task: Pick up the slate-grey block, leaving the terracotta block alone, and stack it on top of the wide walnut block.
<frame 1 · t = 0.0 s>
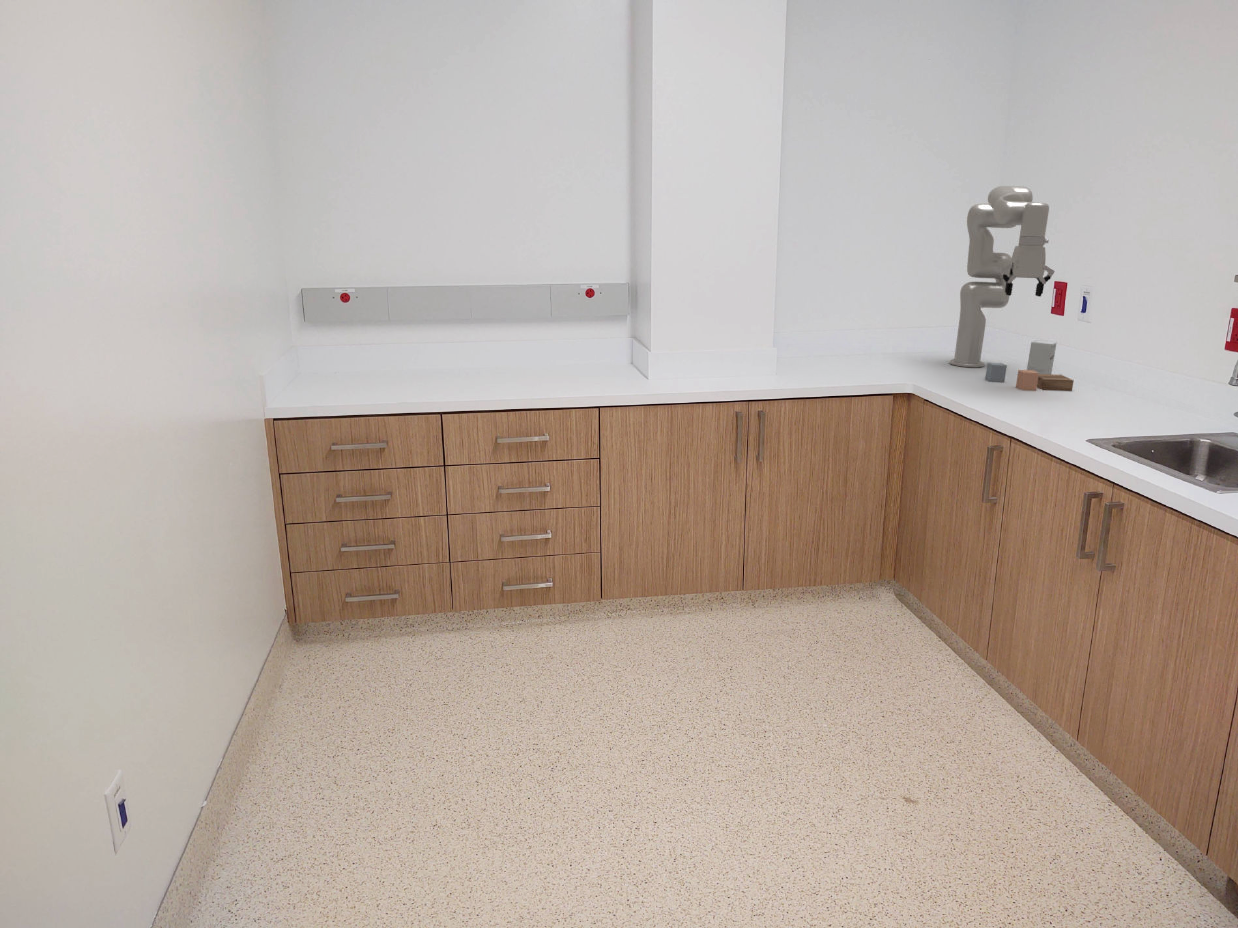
hand: (1023, 295, 302), 31 cm above the worktop, tool pointing down, fingers open, 9 cm apart
walnut base: (1050, 388, 315), on the worktop
supplement box: (1038, 376, 335), on the worktop
grey block: (994, 380, 324), on the worktop
terracotta block: (1025, 388, 312), on the worktop
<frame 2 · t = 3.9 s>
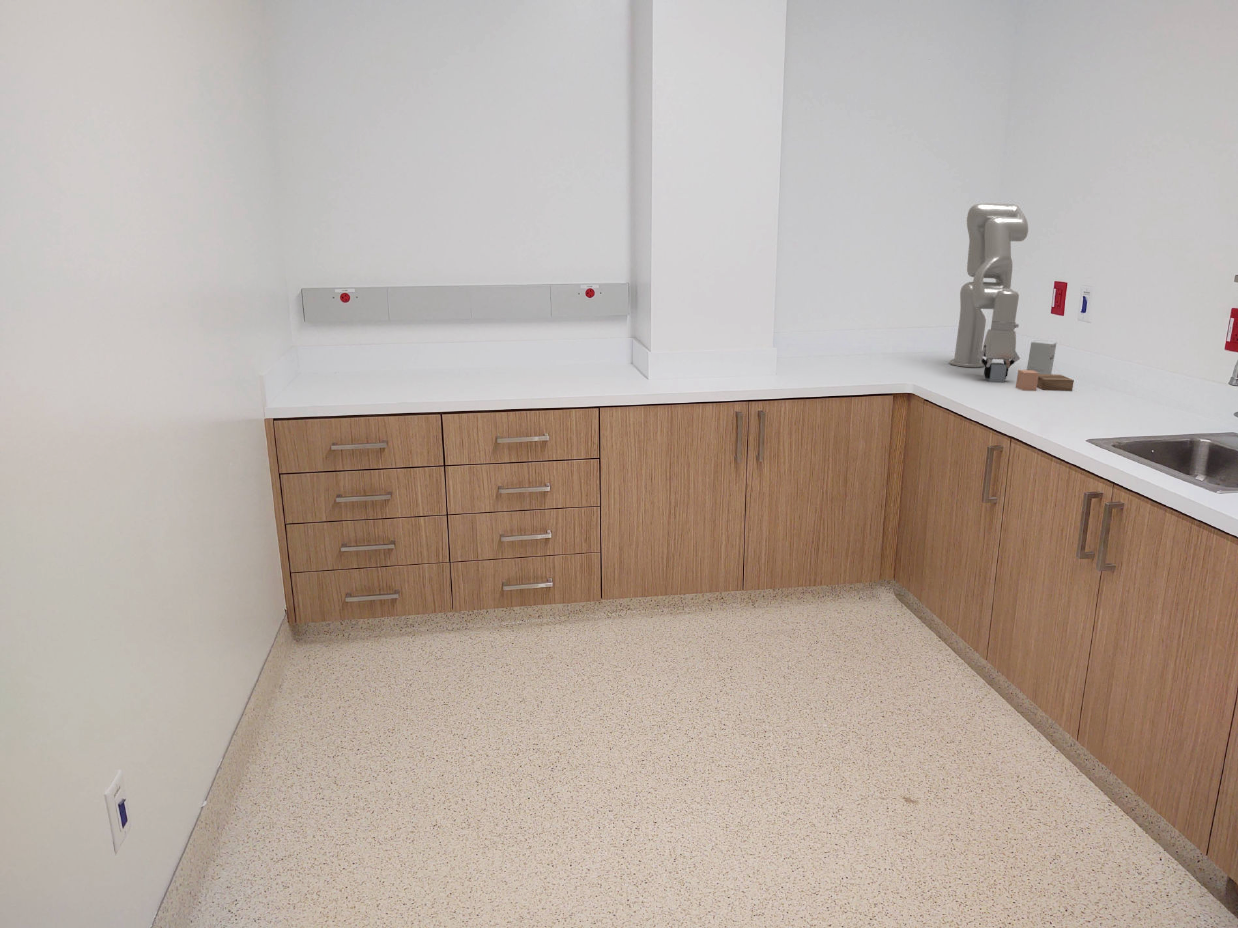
hand: (995, 377, 324), 1 cm above the worktop, tool pointing down, fingers closed on grey block, 4 cm apart
grey block: (994, 380, 324), on the worktop, touching gripper
everything else where it was.
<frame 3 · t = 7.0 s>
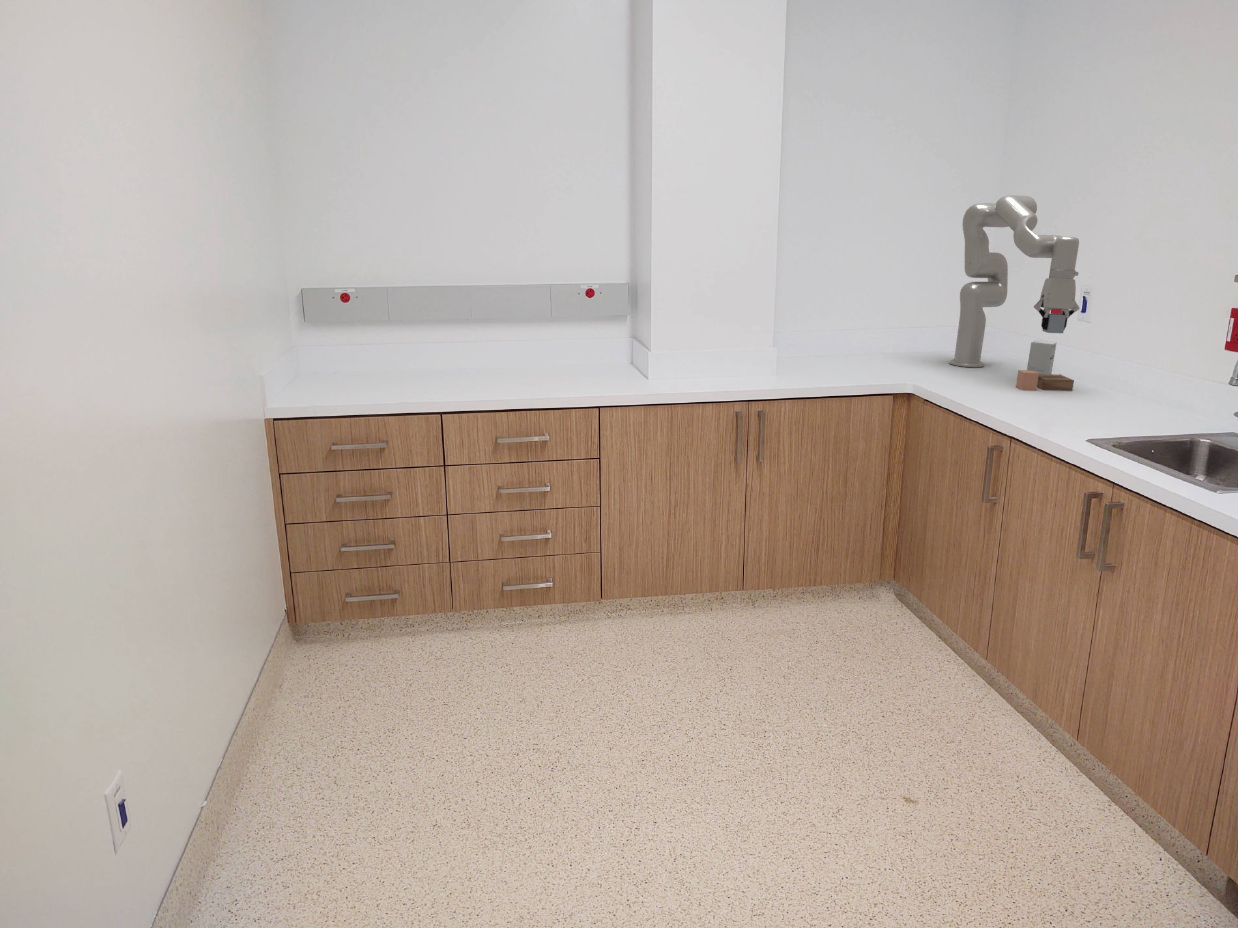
hand: (1053, 329, 311), 20 cm above the worktop, tool pointing down, fingers closed on grey block, 4 cm apart
grey block: (1052, 332, 311), point 19 cm above the worktop, touching gripper
everything else where it was.
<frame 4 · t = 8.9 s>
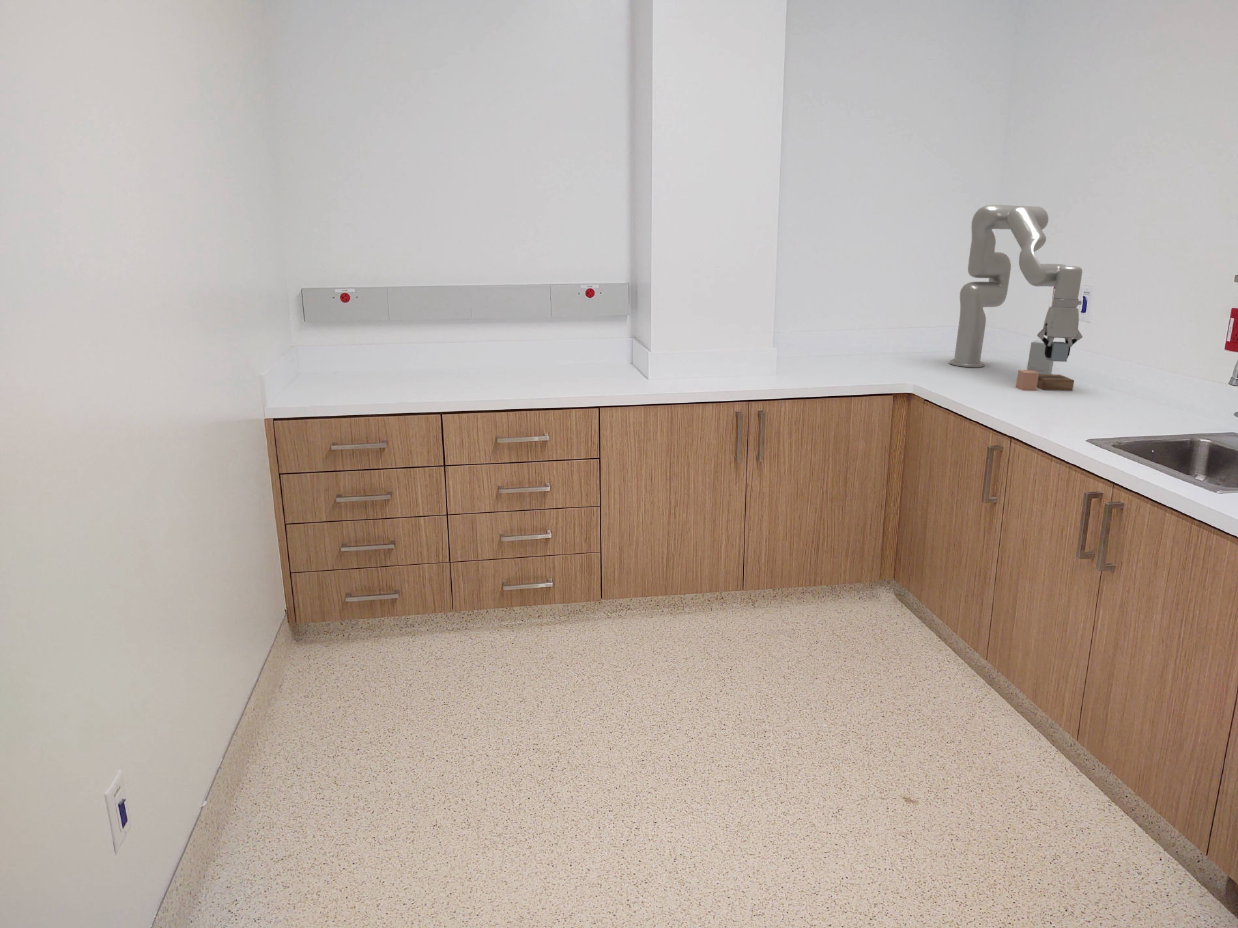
hand: (1056, 357, 312), 11 cm above the worktop, tool pointing down, fingers closed on grey block, 4 cm apart
grey block: (1056, 360, 312), point 9 cm above the worktop, touching gripper
everything else where it was.
when the fingers open (6 cm above the worktop, at t = 10.5 s): grey block drops 2 cm, resting on walnut base.
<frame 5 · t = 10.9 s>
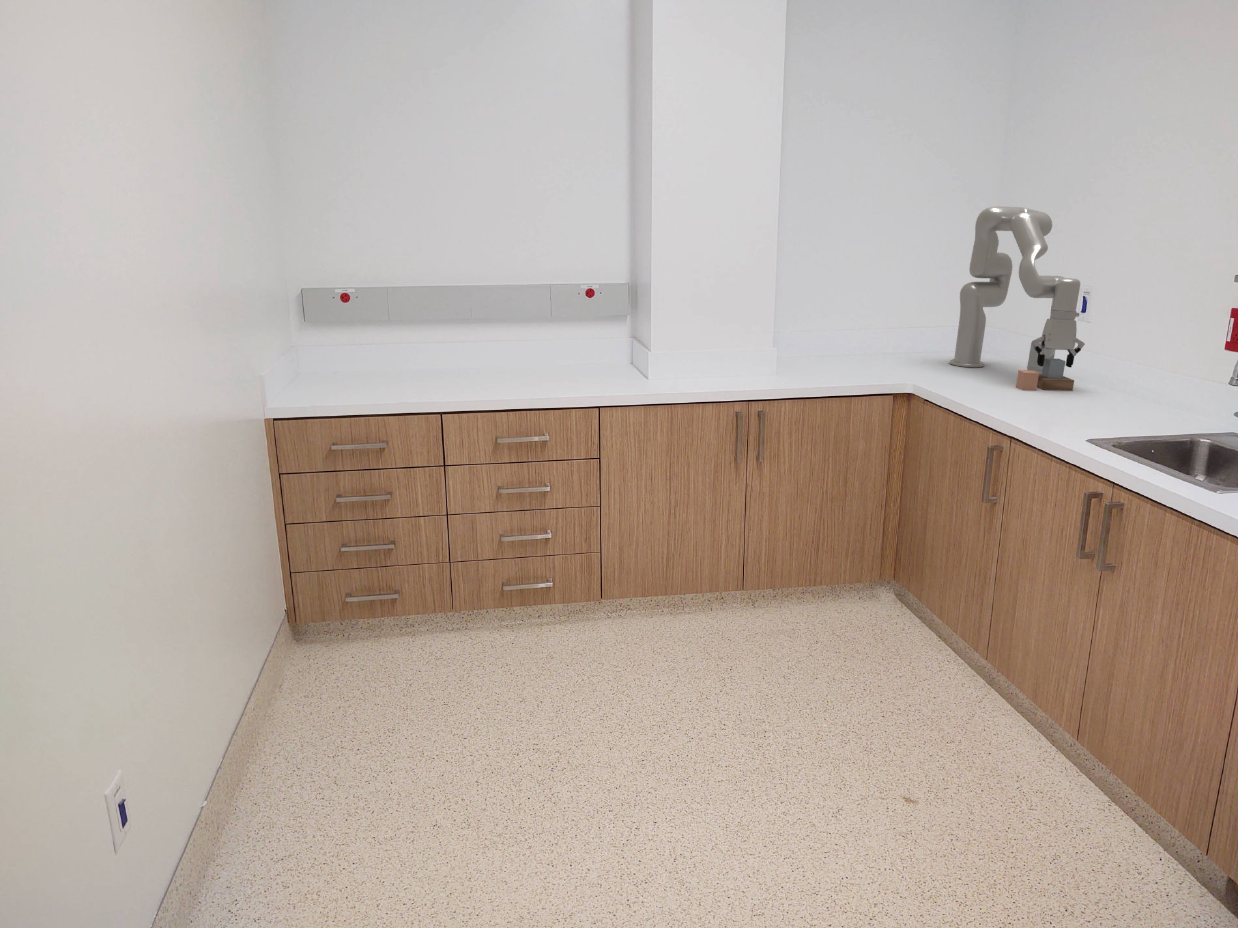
hand: (1054, 366, 313), 7 cm above the worktop, tool pointing down, fingers open, 9 cm apart
walnut base: (1050, 388, 315), on the worktop, touching grey block
grey block: (1051, 377, 314), point 4 cm above the worktop, touching walnut base
everything else where it was.
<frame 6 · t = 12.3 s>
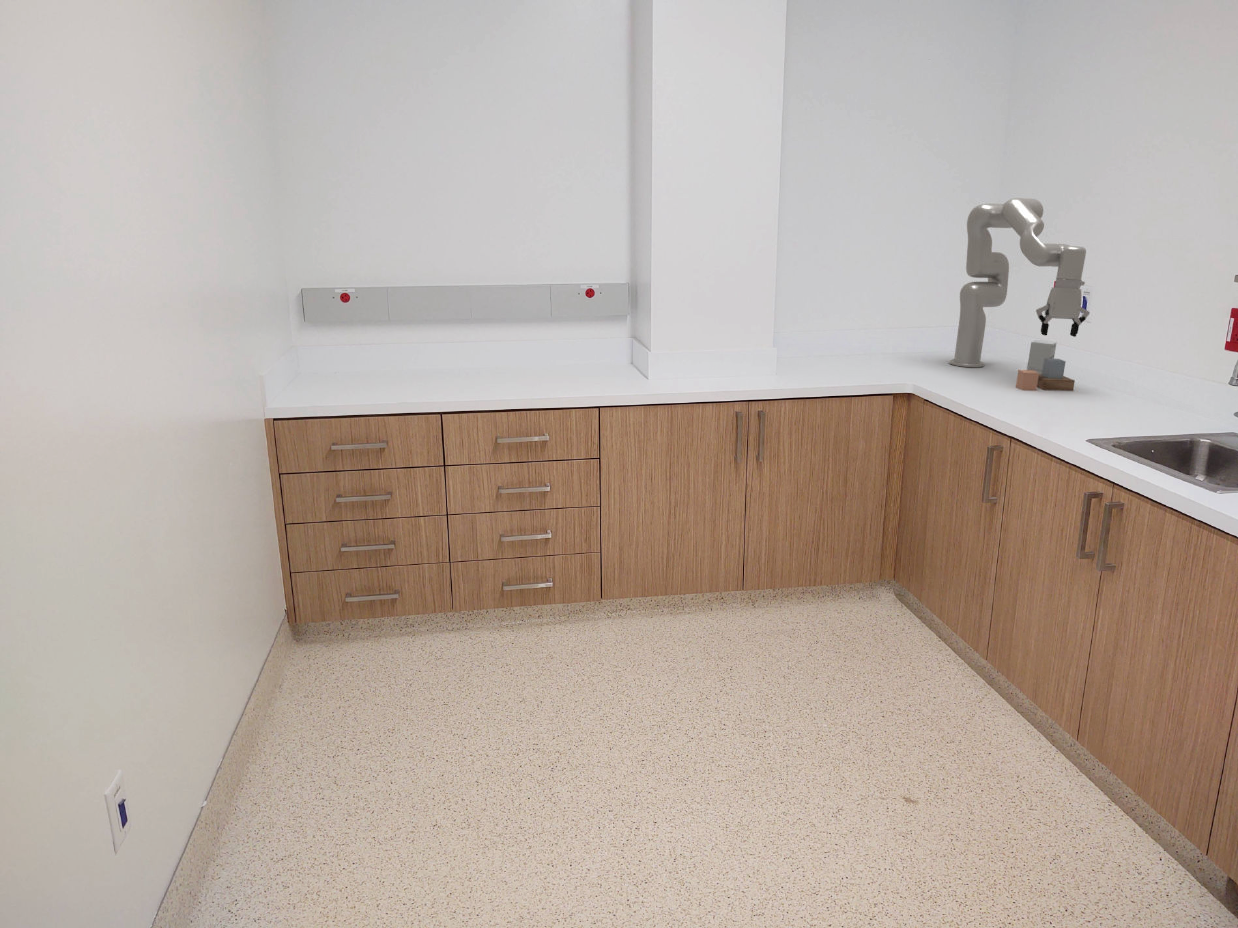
hand: (1058, 335, 311), 18 cm above the worktop, tool pointing down, fingers open, 9 cm apart
nothing on the worktop moved.
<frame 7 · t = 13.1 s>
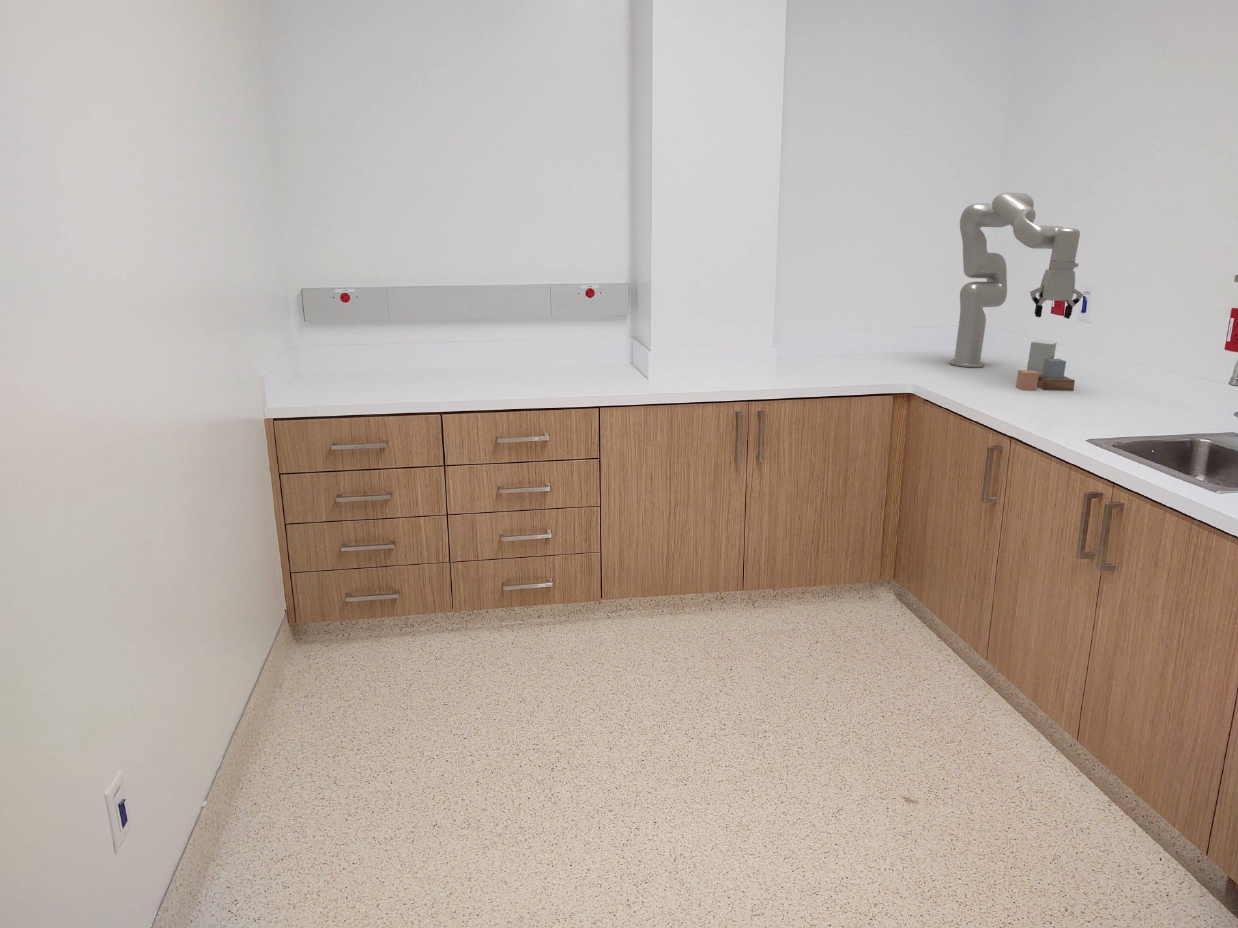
hand: (1052, 317, 312), 23 cm above the worktop, tool pointing down, fingers open, 9 cm apart
nothing on the worktop moved.
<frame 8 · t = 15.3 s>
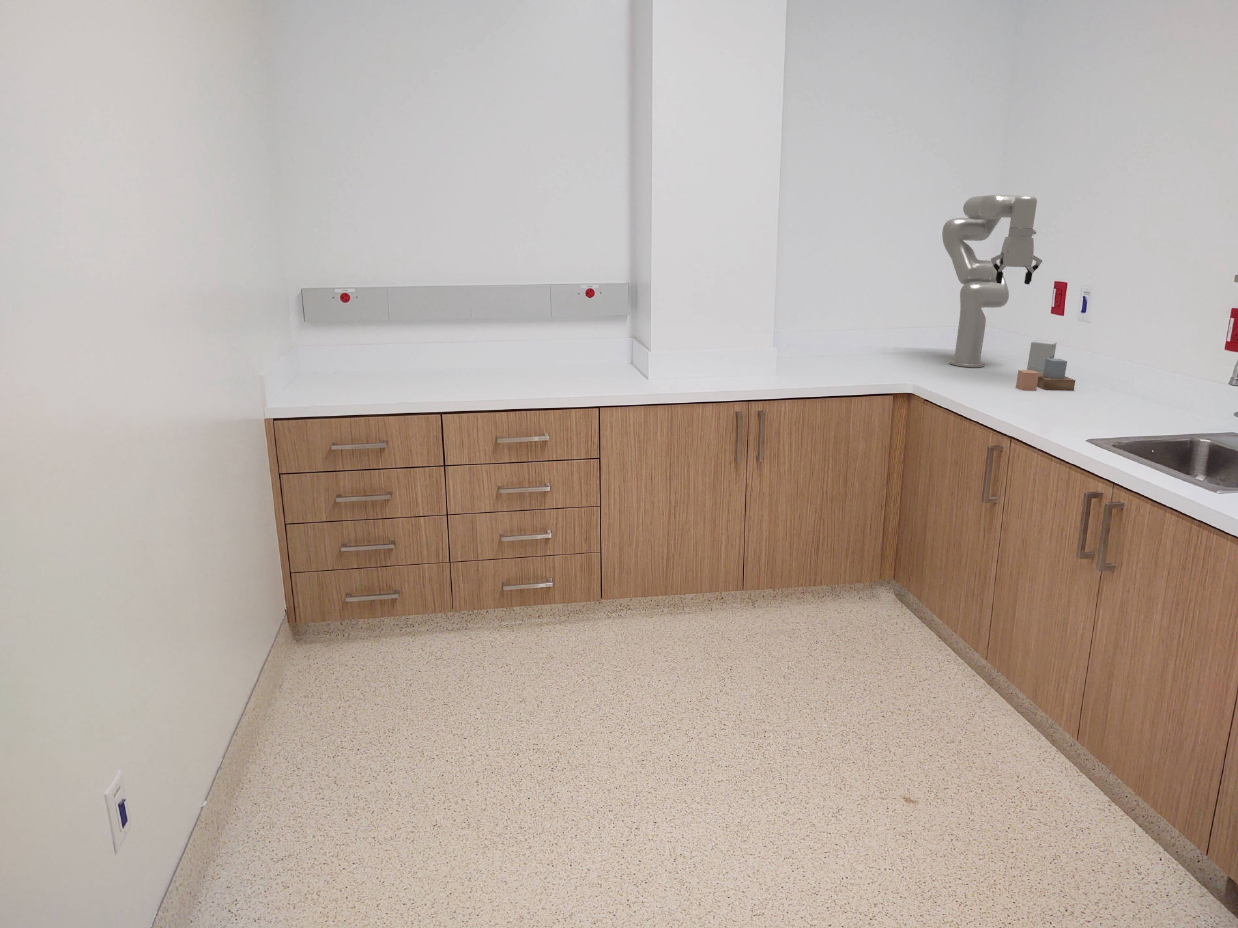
hand: (1012, 283, 322), 33 cm above the worktop, tool pointing down, fingers open, 9 cm apart
walnut base: (1051, 388, 316), on the worktop
grey block: (1053, 377, 314), point 4 cm above the worktop
everything else where it was.
at the end: grey block 0.4 cm off-centre on the walnut base, point 4.0 cm above the walnut base's base; grey block tilted 0°; the gripper is holding nothing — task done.
